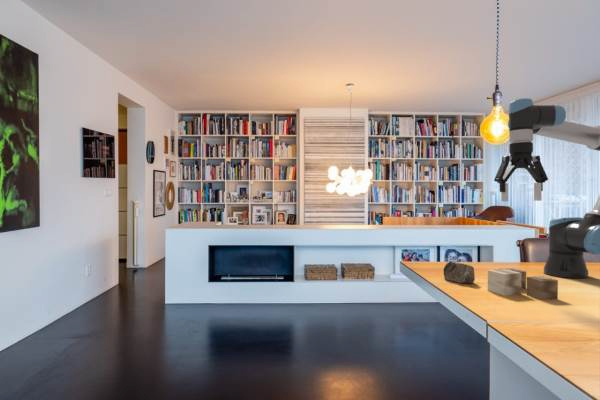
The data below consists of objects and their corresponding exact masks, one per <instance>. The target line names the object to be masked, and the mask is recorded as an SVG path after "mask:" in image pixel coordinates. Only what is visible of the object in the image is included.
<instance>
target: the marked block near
mask: <svg viewBox="0 0 600 400" xmlns="http://www.w3.org/2000/svg"><path fill="white" fill-rule="evenodd" d="M505 269H506V270H510V271H515V272H519V273H522V279H521V290H525V289H526V290H527V271H526V270H522V269H518V268H514V267H512V268H509V267H508V268H505Z"/></svg>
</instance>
